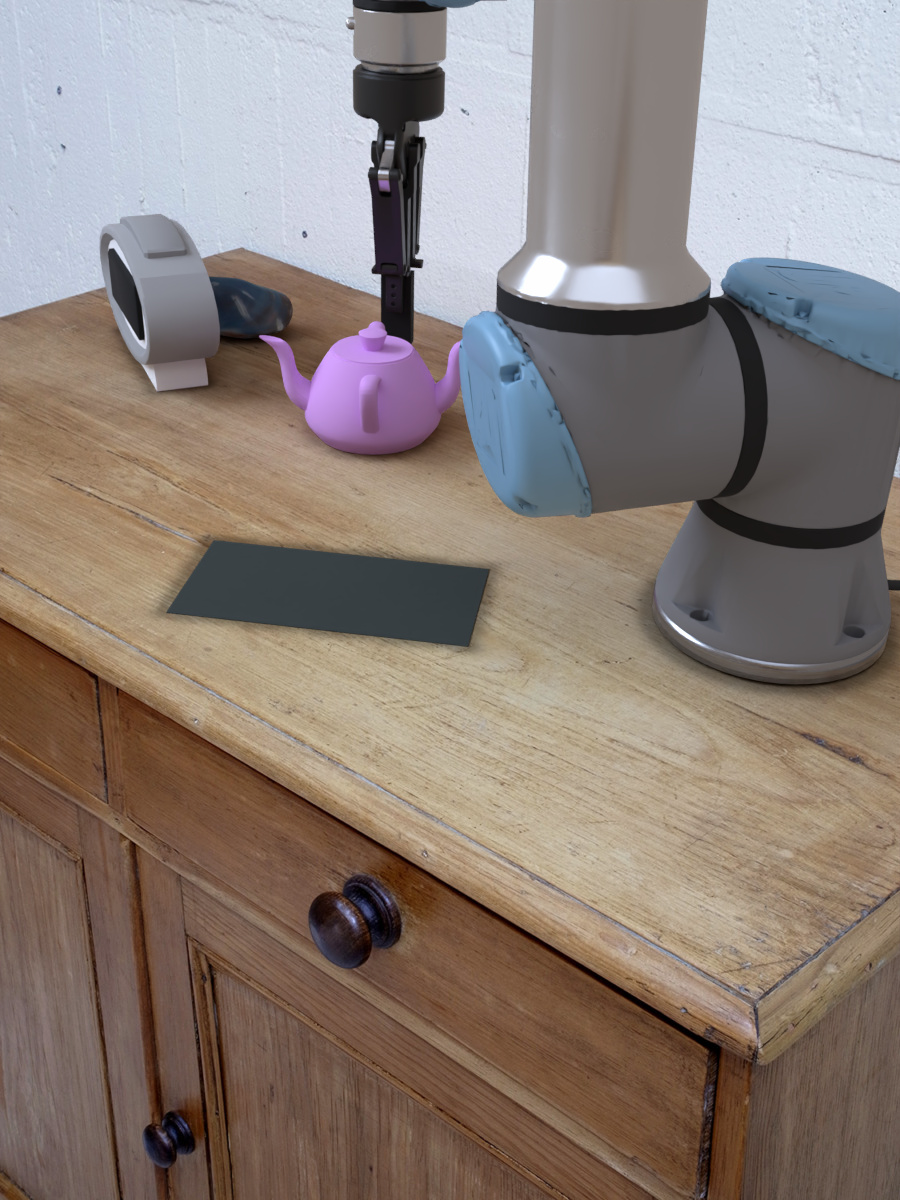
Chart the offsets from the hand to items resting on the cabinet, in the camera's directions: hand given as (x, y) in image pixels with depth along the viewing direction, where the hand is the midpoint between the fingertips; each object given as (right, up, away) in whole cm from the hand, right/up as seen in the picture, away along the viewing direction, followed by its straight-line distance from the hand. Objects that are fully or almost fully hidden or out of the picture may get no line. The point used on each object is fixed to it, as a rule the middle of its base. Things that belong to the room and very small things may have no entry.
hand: (397, 342), depth 119 cm
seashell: (-16, +3, +13) cm, 21 cm away
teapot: (-2, -9, -7) cm, 12 cm away
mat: (-3, -23, -30) cm, 37 cm away
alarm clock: (-23, 0, +6) cm, 23 cm away
